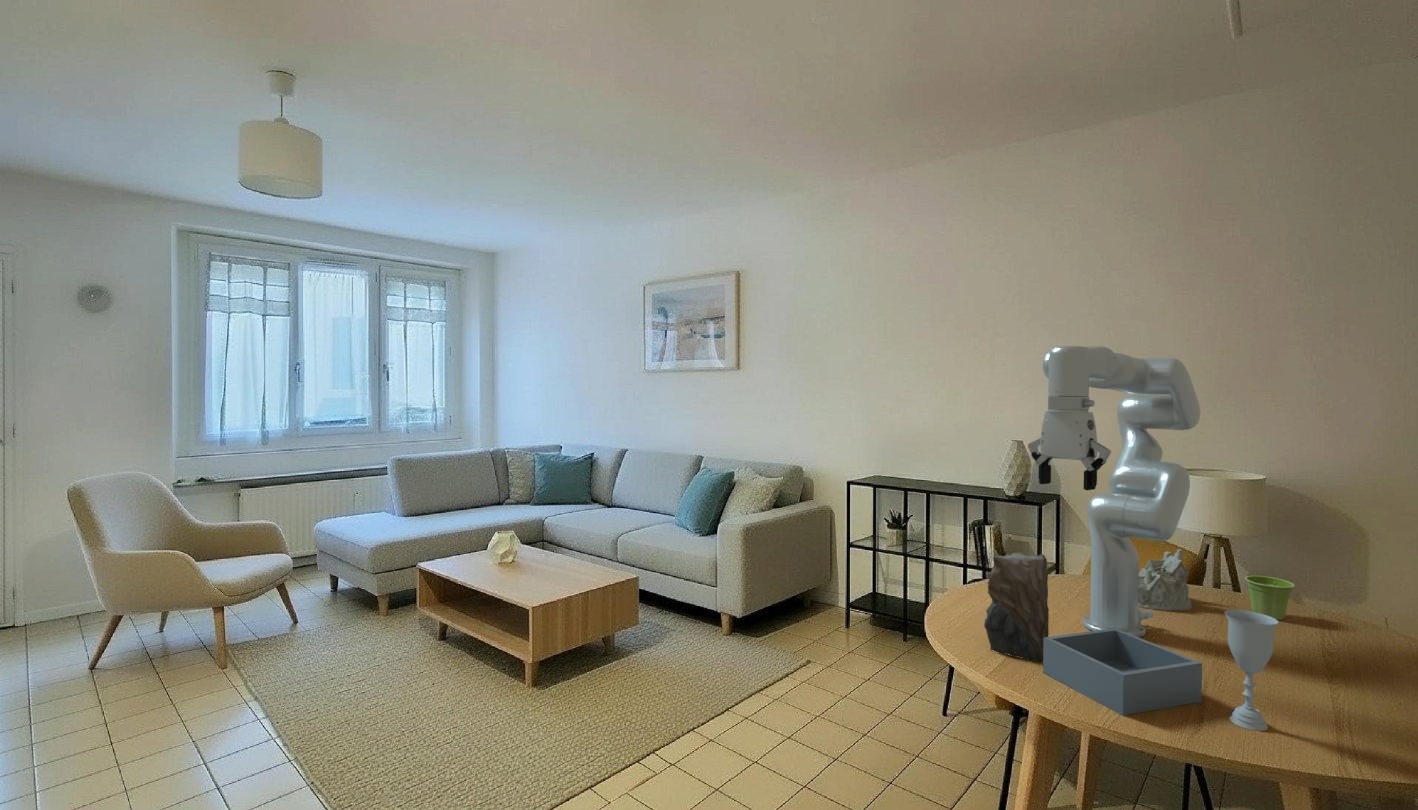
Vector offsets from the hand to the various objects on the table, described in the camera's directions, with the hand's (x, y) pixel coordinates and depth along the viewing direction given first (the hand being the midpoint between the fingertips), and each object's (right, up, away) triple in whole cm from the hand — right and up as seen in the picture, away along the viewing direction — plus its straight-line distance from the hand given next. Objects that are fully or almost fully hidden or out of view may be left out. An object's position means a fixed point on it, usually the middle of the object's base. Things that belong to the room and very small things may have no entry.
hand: (1066, 486), depth 141 cm
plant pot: (+63, -35, +24) cm, 76 cm away
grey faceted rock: (-8, -36, +2) cm, 37 cm away
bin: (+2, -36, -15) cm, 39 cm away
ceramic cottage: (+42, -35, +36) cm, 66 cm away
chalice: (+16, -37, -28) cm, 49 cm away
